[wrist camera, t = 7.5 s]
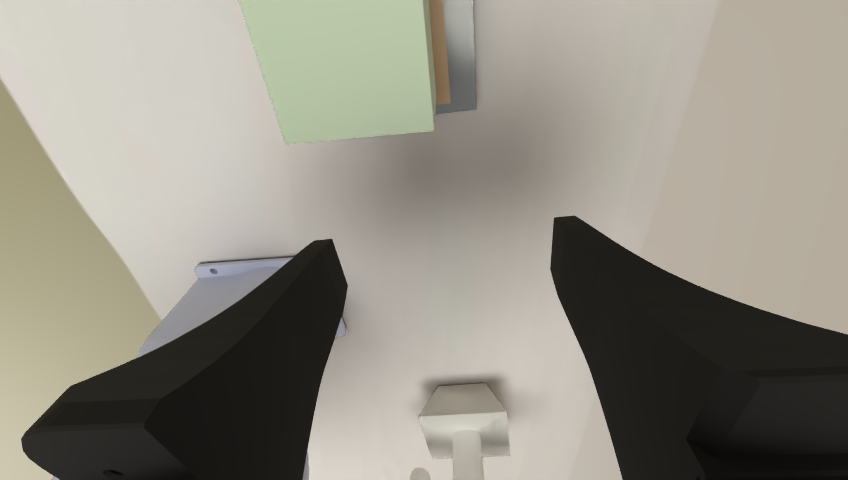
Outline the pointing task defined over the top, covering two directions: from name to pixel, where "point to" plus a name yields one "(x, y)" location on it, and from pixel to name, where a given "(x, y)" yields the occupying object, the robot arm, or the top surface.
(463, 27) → the base tile
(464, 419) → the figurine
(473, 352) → the top surface
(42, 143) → the top surface
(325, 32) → the green cube
